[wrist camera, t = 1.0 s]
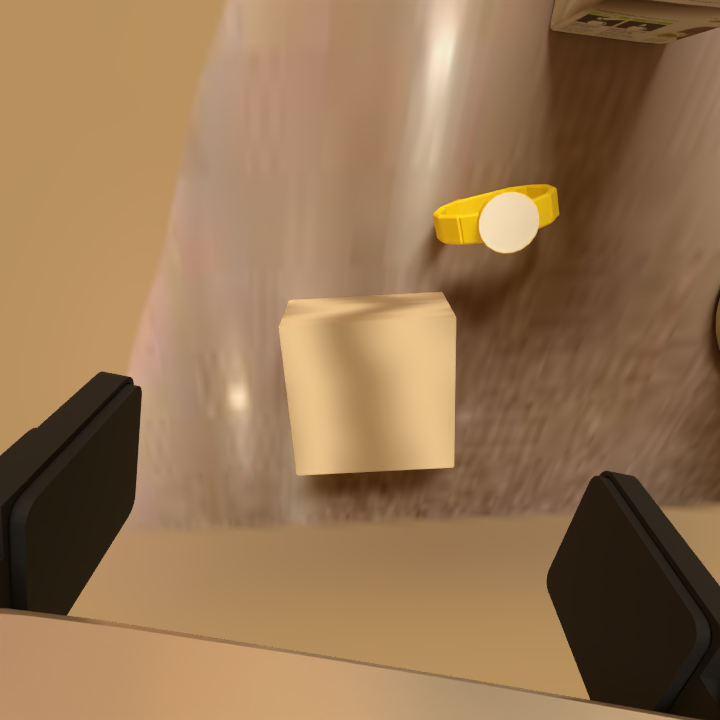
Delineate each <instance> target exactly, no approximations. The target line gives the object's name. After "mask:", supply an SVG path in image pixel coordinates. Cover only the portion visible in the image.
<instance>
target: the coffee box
mask: <svg viewBox="0 0 720 720" xmlns="http://www.w3.org/2000/svg"><path fill="white" fill-rule="evenodd" d="M719 27H720V0H555V4H554V9H553V13H552V18H551V23H550V28H551V30H553V31H560V32H567V33H574V34H582V35H589V36H597V37H604V38H612V39H619V40H627V41H635V42H645V43H655V44H666V43H669V42H672V41H675V40H678V39H681V38H685V37H688V36H691V35H694V34H698V33H701V32H705V31H708V30H712V29H715V28H719Z"/></svg>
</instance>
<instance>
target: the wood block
mask: <svg viewBox="0 0 720 720" xmlns="http://www.w3.org/2000/svg"><path fill="white" fill-rule="evenodd" d="M279 333H280V342H281V350H282V358H283V367H284V375H285V383H286V391H287V400H288V408H289V416H290V425H291V433H292V441H293V450H294V458H295V466H296V474H297V475H316V474H336V473H355V472H375V471H394V470H413V469H433V468H452V467H454V432H455V367H456V316H455V314H454V312H453V311H452V309H451V307H450V305H449V303H448V301H447V300H446V298H445V296H444V294H443V292H429V293H411V294H393V295H375V296H357V297H339V298H321V299H303V300H289V302H288V305H287V307H286V310H285V312H284V315H283V318H282V320H281V323H280V325H279Z"/></svg>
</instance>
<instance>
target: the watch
mask: <svg viewBox="0 0 720 720" xmlns="http://www.w3.org/2000/svg"><path fill="white" fill-rule="evenodd" d="M558 215H559V207H558V196H557V188H555V187H553V186H551V185H547V184H535V185H523V186H516V187H509V188H505V189H501V190H497V191H493V192H489V193H485V194H481V195H477V196H473V197H469V198H465V199H461V200H460V199H458V200H457V201H454V202H451V203H449V204H446V205H444V206H442V207H440V208H439V209H438V210H436V211H435V212H434V214H433V219H434V224H435V229H436V235H437V239H439V240H440V241H442V242H443V243H446V244H458V245H463V244H465V245H467V244H476V243H484V244H485V245H486V246H487V247H488V248H490V249H491V250H493V251H494V252H498V253H502V254H508V253H514V252H517V251H520V250H522V249H523V248H525V247H526V246H527V245H529V244H530V243H531V241H532V240H533V239H534V237H535V236H536V234H537V231H538V229H540V228H542V227H544V226H547V225H549V224H550V223H552V222H553V221H554V220H555V219H556V218H557V217H558Z"/></svg>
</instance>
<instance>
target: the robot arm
mask: <svg viewBox="0 0 720 720" xmlns="http://www.w3.org/2000/svg"><path fill="white" fill-rule="evenodd" d="M716 336H717V341H718V347H719V350H720V299H719V303H718V308H717V312H716ZM141 397H142V390H141V387H140V386H135V385H134V383H133V379H132V378H131V377H127V376H122V375H117V374H112V373H106V372H100V373H98V374H97V375H96V376H95V377H93V378H92V379H91V380H90V381H89V382H88V383H87V384H86V385H85V386H83V387H82V388H81V389H80V390H79V391H78V392H77V393H76V394H74V395H73V396H72V397H71V398H70V399H69V400H68V401H67V402H65V404H63V405H62V406H61V407H60V408H59V409H58V410H57V411H56V412H54V413H53V414H52V415H51V416H50V417H49V418H48V419H47V420H45V421H44V422H43V423H42V424H41V425H40V426H39V427H38V428H33V429H31V430H30V431H28V432H27V433H26V434H24V436H22V437H21V438H20V439H19V440H18V441H17V442H15V443H14V444H13V445H12V446H11V447H10V448H9V449H7V451H5V452H4V453H3V454H2V455H1V456H0V720H720V586H719V585H718V583H717V582H716V581H715V579H714V578H713V577H712V576H711V574H710V573H709V572H708V570H707V569H706V568H705V566H704V565H703V564H702V563H701V561H700V560H699V559H698V557H697V556H696V555H695V553H694V552H693V551H692V550H691V548H690V547H689V546H688V544H687V543H686V542H685V540H684V539H683V538H682V537H681V535H680V534H679V533H678V531H677V530H676V529H675V527H674V526H673V525H672V523H671V522H670V521H669V520H668V518H667V517H666V516H665V514H664V513H663V512H662V511H661V509H660V508H659V507H658V505H657V504H656V503H655V501H654V500H653V499H652V498H651V496H650V495H649V494H648V492H647V491H646V490H645V488H644V487H643V486H642V485H641V483H640V482H639V481H638V479H637V478H635V477H634V476H630V475H625V474H620V473H615V472H610V471H604V472H602V473H601V474H600V475H599V476H594V477H593V478H592V479H591V481H590V482H589V484H588V487H587V489H586V491H585V493H584V495H583V497H582V500H581V502H580V504H579V506H578V508H577V510H576V513H575V515H574V517H573V519H572V521H571V523H570V526H569V528H568V530H567V532H566V534H565V536H564V539H563V541H562V543H561V545H560V547H559V549H558V552H557V554H556V556H555V558H554V560H553V562H552V565H551V567H550V569H549V571H548V575H547V588H548V592H549V594H550V597H551V599H552V602H553V605H554V607H555V610H556V612H557V615H558V617H559V620H560V623H561V625H562V628H563V630H564V633H565V635H566V638H567V641H568V643H569V646H570V648H571V651H572V653H573V656H574V658H575V661H576V663H577V666H578V669H579V672H580V674H581V676H582V679H583V682H584V684H585V687H586V689H587V692H588V695H589V697H590V700H586V699H580V698H575V697H569V696H563V695H557V694H551V693H546V692H539V691H534V690H527V689H522V688H517V687H510V686H504V685H499V684H493V683H487V682H481V681H475V680H469V679H463V678H457V677H451V676H445V675H439V674H433V673H427V672H421V671H415V670H409V669H403V668H397V667H391V666H385V665H378V664H373V663H367V662H361V661H355V660H348V659H342V658H336V657H330V656H323V655H318V654H311V653H306V652H299V651H293V650H287V649H281V648H274V647H267V646H262V645H256V644H249V643H243V642H236V641H230V640H224V639H218V638H212V637H205V636H199V635H193V634H187V633H180V632H174V631H168V630H161V629H155V628H149V627H142V626H136V625H129V624H123V623H116V622H110V621H103V620H97V619H89V618H81V617H73V616H67V614H68V613H69V611H70V609H71V608H72V606H73V604H74V603H75V601H76V600H77V598H78V597H79V595H80V593H81V592H82V590H83V589H84V587H85V585H86V583H87V582H88V580H89V579H90V577H91V576H92V574H93V572H94V571H95V569H96V567H97V566H98V564H99V563H100V561H101V559H102V558H103V556H104V554H105V553H106V552H107V550H108V548H109V547H110V545H111V544H112V542H113V540H114V539H115V537H116V536H117V534H118V532H119V531H120V529H121V528H122V526H123V524H124V523H125V521H126V520H127V518H128V516H129V514H130V513H131V510H132V507H133V504H134V500H135V491H136V475H137V460H138V444H139V429H140V413H141Z"/></svg>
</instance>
